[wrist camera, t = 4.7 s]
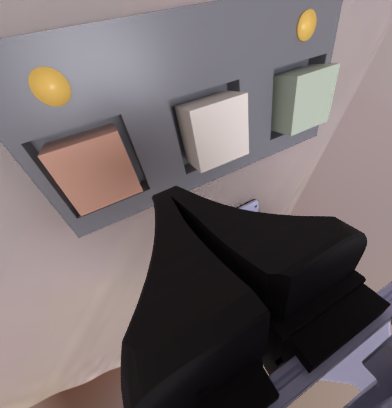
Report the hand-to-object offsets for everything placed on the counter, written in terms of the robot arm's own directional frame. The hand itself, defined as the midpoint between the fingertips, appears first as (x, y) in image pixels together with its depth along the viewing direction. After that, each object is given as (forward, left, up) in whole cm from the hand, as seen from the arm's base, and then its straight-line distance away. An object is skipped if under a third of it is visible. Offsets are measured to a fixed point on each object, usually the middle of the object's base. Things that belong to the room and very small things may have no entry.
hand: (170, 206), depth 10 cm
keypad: (+2, -7, -10) cm, 12 cm away
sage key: (0, -17, -9) cm, 19 cm away
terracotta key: (0, +3, -10) cm, 10 cm away
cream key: (0, -7, -9) cm, 11 cm away
